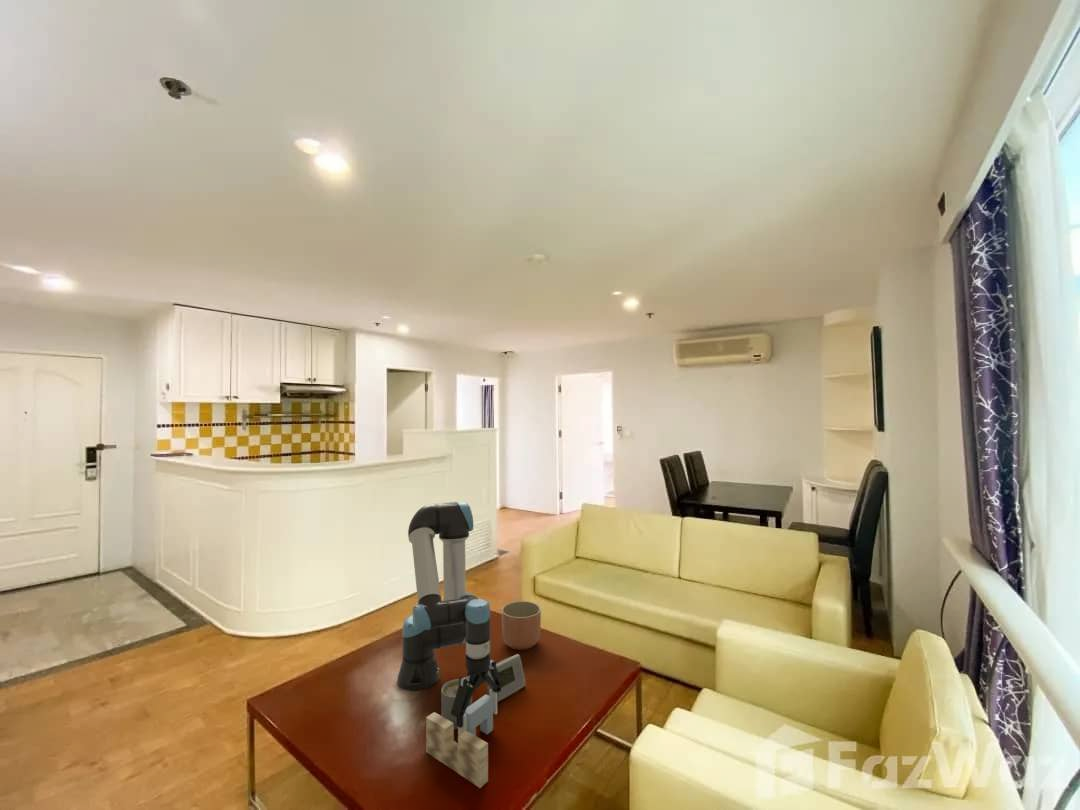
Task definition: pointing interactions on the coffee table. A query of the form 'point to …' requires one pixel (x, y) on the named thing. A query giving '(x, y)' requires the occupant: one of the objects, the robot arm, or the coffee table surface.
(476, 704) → the bridge plate
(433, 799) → the coffee table surface
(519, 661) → the digital clock
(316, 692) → the coffee table surface
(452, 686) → the coffee mug
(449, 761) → the maple rail
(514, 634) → the planter
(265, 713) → the coffee table surface
